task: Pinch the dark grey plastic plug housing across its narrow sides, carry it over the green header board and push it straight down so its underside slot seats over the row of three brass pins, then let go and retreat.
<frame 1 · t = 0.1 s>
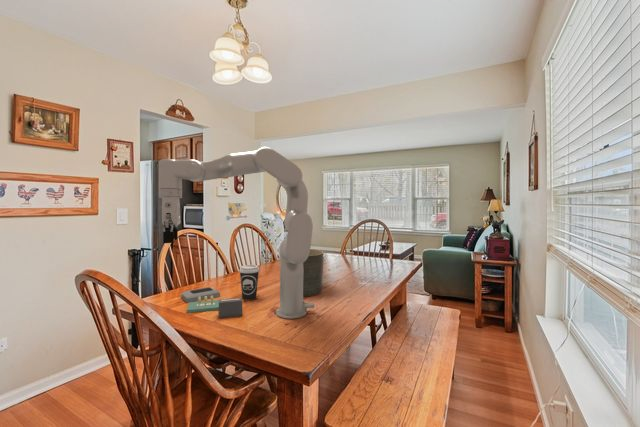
hand: (170, 241, 110), 31 cm above the table, tool pointing down, fingers open, 9 cm apart
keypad: (200, 298, 144), on the table
coffee cup: (249, 298, 144), on the table
planter: (301, 290, 157), on the table
header board: (205, 307, 130), on the table
plug housing: (230, 314, 122), on the table
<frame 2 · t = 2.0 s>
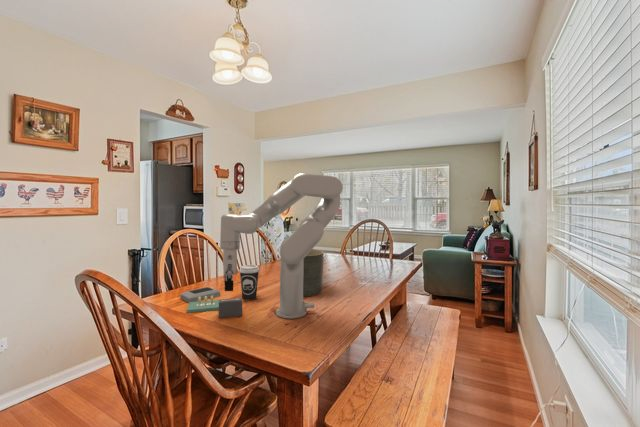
hand: (228, 287, 121), 11 cm above the table, tool pointing down, fingers open, 9 cm apart
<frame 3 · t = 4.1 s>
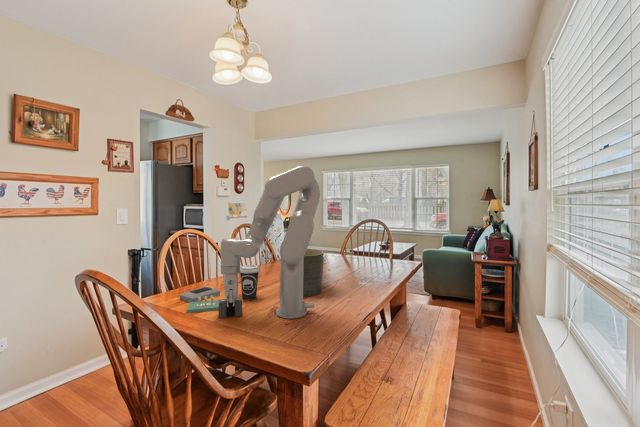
hand: (230, 313, 122), 1 cm above the table, tool pointing down, fingers closed on plug housing, 4 cm apart
plug housing: (230, 314, 122), on the table, touching gripper
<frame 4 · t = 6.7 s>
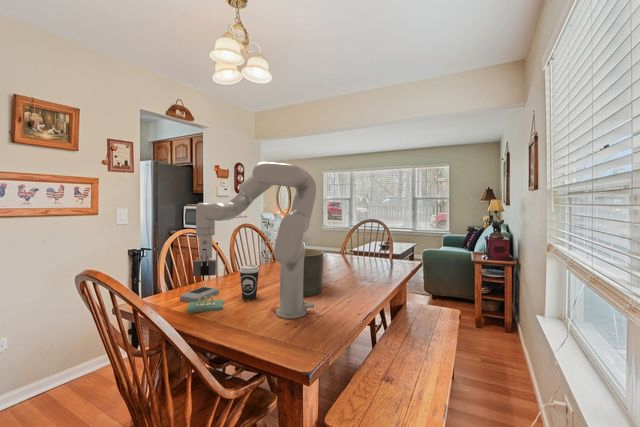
hand: (204, 273, 130), 15 cm above the table, tool pointing down, fingers closed on plug housing, 4 cm apart
plug housing: (204, 274, 130), point 14 cm above the table, touching gripper
when the fingers open (3 cm above the table, at t = 9.5 s): plug housing stays where it is, resting on header board.
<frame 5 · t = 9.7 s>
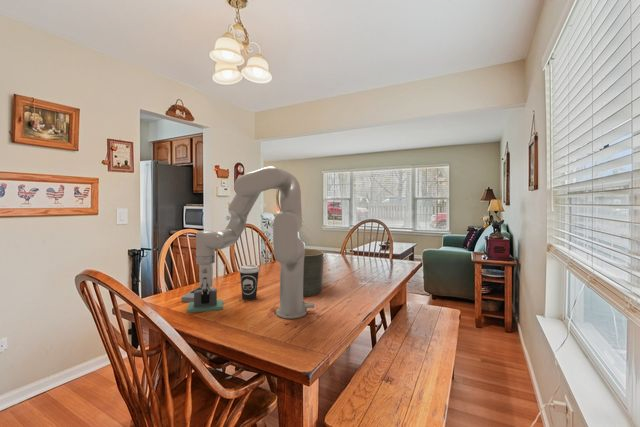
hand: (205, 300, 130), 3 cm above the table, tool pointing down, fingers open, 6 cm apart
plug housing: (205, 304, 130), point 1 cm above the table, touching header board
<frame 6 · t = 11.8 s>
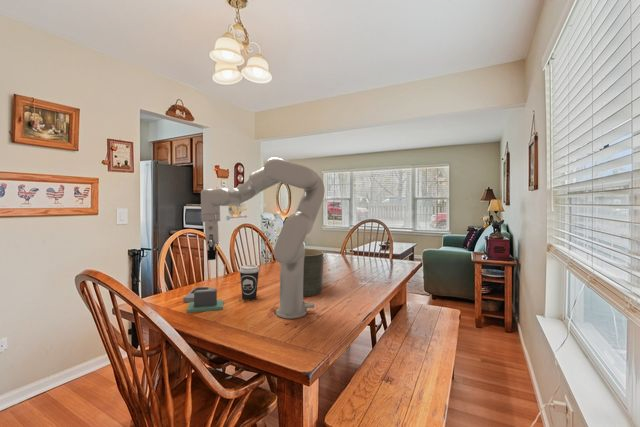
hand: (212, 257, 130), 22 cm above the table, tool pointing down, fingers open, 9 cm apart
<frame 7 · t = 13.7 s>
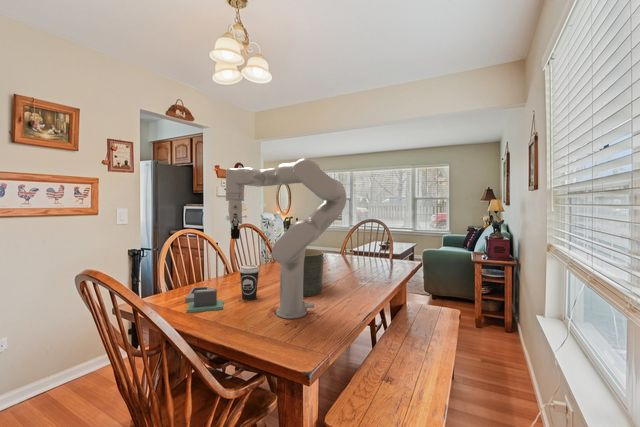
hand: (234, 237, 130), 30 cm above the table, tool pointing down, fingers open, 9 cm apart
at the end: plug housing 0.0 cm off-centre on the header board, point 1.2 cm above the header board's base; plug housing tilted 0°; the gripper is holding nothing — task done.
